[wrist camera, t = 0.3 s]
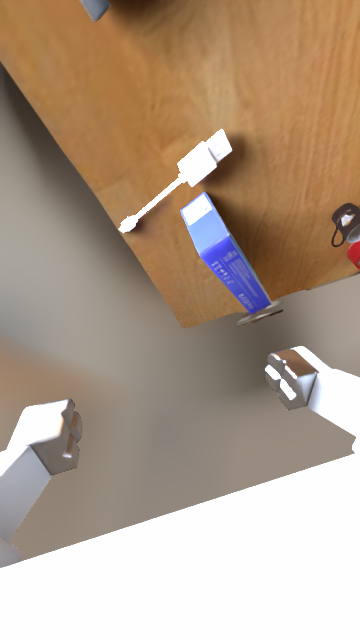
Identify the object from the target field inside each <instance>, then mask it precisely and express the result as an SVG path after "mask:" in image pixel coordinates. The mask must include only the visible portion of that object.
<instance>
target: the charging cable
mask: <svg viewBox="0 0 360 640" xmlns="http://www.w3.org/2000/svg"><path fill="white" fill-rule="evenodd" d="M231 151H232V149H231V146H230V144H229V142H228V140H227V138H226V136H225V133H224V131H223V130H222V129H220V130H219V131H218V132H217V133H216V134H215V135H214V136H213V137H211V138H210V139H209V140H208V141H207V142H206V143H205V144H204V142H203V141H202V142H201V143H200V144H199V145H198V146H197V147H196V148H195V149H194V150H192V151H191V152H190V153H189V154H188V155H187V156H186V157H185V158H184V159H182V160H181V161H180V162H179V163H178V166H179V168H180V171H181V173H180V174H179V178H178V179H177V180H176V181H175V182H173V183H172V184H171V185H170V186H169V187H168V188H167V189H165V190H164V191H163V192H162V193H161V194H160V195H158V196H157V197H156V198H155V199H154V200H153V201H152V202H150V203H149V204H148V205H147V206H146V207H145V208H144V209H142V210H141V211H140V212H139V213H138V214H137V215H135V216H132V217H131V218H130V217H127V218H126V219H125V220H124V221H123V222H122V223H121V227H120V228H119V230H120V231H121V232H123V233H124V232H126V231H128V232H129V231H130V230H131V229H132V228H134V227H135V226H136V223H137V222H138V219H139V218H140V217H141V216H142V215H143V214H145V213H146V212H147V211H148V210H149V209H151V208H152V207H153V206H154V205H155V204H156V203H158V202H159V201H160V200H161V199H162V198H163V197H165V196H166V195H167V194H168V193H169V192H170V191H172V190H173V189H174V188H175V187H176V186H178V185H179V184H180V183H181V182H183V183H185V182H186V181H188V182H189V184H190V185H191V186H192V187H193V186H194V185H195V184H197V183H198V182H199V181H200V180H201V179H203V178H204V177H205V176H206V175H208V174H209V173H210V172H211V171H212V170H214V169H215V168H216V167H217V166H216V163H218V162H219V161H220V160H221V159H222V158H224V157H225V156H226V155H227V154H228V153H230V152H231Z"/></svg>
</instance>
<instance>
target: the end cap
mask: <svg viewBox="0 0 360 640" xmlns="http://www.w3.org/2000/svg"><path fill="white" fill-rule="evenodd" d="M80 2H81V4H82V5H83V7H84V9H85V10H86V12H87V13H88V15H89V17H90V18H91V20H92V21H93V22H94V23H95V22H97V21H98V20H99V19H100V18H101V17H102V16H103V15H104V14H105V13H106V11H107V10H108V9H109V8H110V6H111V4H110V2H109V0H80Z"/></svg>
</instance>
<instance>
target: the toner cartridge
mask: <svg viewBox="0 0 360 640" xmlns="http://www.w3.org/2000/svg"><path fill="white" fill-rule="evenodd" d="M181 213H182V216H183V218H184V220H185V223H186V225H187V228H188V230H189V232H190V235H191V237H192V239H193V242H194V244H195V247H196V249H197V251H198V254H200V257H201V258H202V259H203V260H204V262H205V263H206V264H207V265H208V266H209V267H210V268H211V269H212V271H213V272H214V273H215V274H216V275H217V276H218V277H219V279H220V280H221V281H222V282H223V283H224V284H225V285H226V286H227V288H228V289H229V290H230V291H231V292H232V293H233V294H234V295H235V297H236V298H237V299H238V300H239V301H240V302H241V303H242V304H243V306H244V307H245V308H246V309H247V310H248V311H249V312H250V314H253V313H255V312H257V311H259V310H261V309H263V308H265V307H267V306H269V305H271V304H272V302H271V300H270V298H269V296H268V294H267V292H266V291H265V289H264V287H263V285H262V284H261V282H260V280H259V278H258V277H257V275H256V273H255V271H254V270H253V268H252V266H251V265H250V263H249V262H248V260H247V258H246V257H245V255H244V254H243V252H242V250H241V249H240V247H239V246H238V244H237V242H236V241H235V239H234V237H233V236H232V234H231V233H230V231H229V229H228V228H227V226H226V224H225V223H224V221H223V220H222V218H221V216H220V215H219V213H218V211H217V210H216V208H215V206H214V205H213V203H212V201H211V199H210V198H209V196H208V195H207V193H206V192H203V193H202V194H201V195H199V196H198V197H197V198H195V199H194V200H193V201H192V202H190V203H189V204H188V205H187V206H186V207H184V208H183V209H182V210H181Z"/></svg>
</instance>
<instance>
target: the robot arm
mask: <svg viewBox="0 0 360 640" xmlns="http://www.w3.org/2000/svg"><path fill="white" fill-rule="evenodd" d="M267 361H268V362H269V364H270V365H269V366H268V367H267V368H266V374H265V375H266V379H267V382H268V384H269V386H270V387H271V388H272V390H274V391H276V392H278V393H279V399H280V400H281V401H282V403H283V404H284V405H285V406H286V408H287V409H288V410H292V409H296V408H300V407H304V406H307V407H308V408H310V409H311V410H313V411H315V412H316V413H318V414H320V415H321V416H323V417H325V418H326V419H328V420H330V421H331V422H333V423H335V424H336V425H338V426H340V427H341V428H343V429H345V430H346V431H348V432H350V433H351V434H353V435H355V436H356V437H357V439H356V440H355V443H354V444H353V451H354V452H355V453H356V454H353V455H350V456H347V457H344V458H341V459H338V460H335V461H332V462H328V463H325V464H323V465H319V466H316V467H313V468H310V469H307V470H304V471H301V472H298V473H295V474H292V475H288V476H285V477H282V478H279V479H276V480H273V481H270V482H267V483H264V484H260V485H257V486H254V487H251V488H248V489H245V490H242V491H239V492H236V493H233V494H229V495H226V496H223V497H220V498H218V499H214V500H211V501H208V502H205V503H202V504H199V505H196V506H192V507H189V508H186V509H183V510H180V511H177V512H174V513H171V514H168V515H164V516H161V517H159V518H155V519H152V520H149V521H146V522H143V523H140V524H137V525H134V526H131V527H128V528H124V529H122V530H118V531H115V532H112V533H109V534H106V535H103V536H100V537H97V538H94V539H90V540H87V541H84V542H81V543H78V544H75V545H72V546H69V547H66V548H63V549H60V550H57V551H54V552H50V553H47V554H44V555H41V556H38V557H35V558H32V559H29V560H26V561H23V562H21V561H22V556H23V555H22V553H21V552H20V551H19V550H18V549H17V548H16V547H14V546H13V545H12V544H11V543H10V540H11V538H12V537H13V536H14V534H15V532H16V531H17V529H18V528H19V526H20V525H21V523H22V522H23V520H24V519H25V517H26V516H27V514H28V512H29V511H30V509H31V508H32V506H33V505H34V503H35V502H36V500H37V499H38V497H39V496H40V494H41V493H42V491H43V489H44V488H45V486H46V485H47V483H48V482H49V480H50V479H51V475H55V474H58V473H61V472H65V471H68V470H72V469H75V468H77V463H78V457H79V447H78V445H77V443H78V441H79V440H80V439H81V436H82V422H81V417H80V415H79V413H78V412H76V411H74V408H75V404H74V402H73V400H72V399H65V400H60V401H55V402H50V403H46V404H41V405H37V406H32V407H27V408H26V409H25V410H24V411H23V413H22V415H21V418H20V420H19V422H18V425H17V427H16V429H15V432H14V434H13V436H12V439H11V441H10V443H9V446H8V448H7V450H6V451H3V452H1V453H0V640H360V378H359V377H356V376H353V375H351V374H348V373H345V372H342V371H339V370H337V369H334V370H332V369H331V368H329V367H328V366H327V365H326V364H325V363H323V362H322V361H321V360H320V359H319V358H317V357H316V356H315V355H314V354H313V353H311V352H310V351H309V350H308V349H306V348H305V347H302V346H300V347H296V348H292V349H288V350H284V351H279V352H275V353H271V354H270V355H269V356H268V360H267Z"/></svg>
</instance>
